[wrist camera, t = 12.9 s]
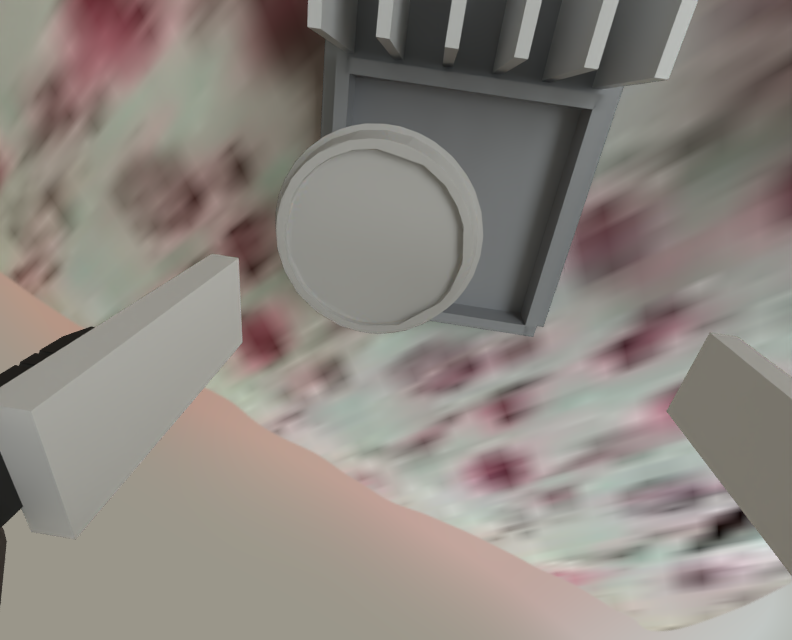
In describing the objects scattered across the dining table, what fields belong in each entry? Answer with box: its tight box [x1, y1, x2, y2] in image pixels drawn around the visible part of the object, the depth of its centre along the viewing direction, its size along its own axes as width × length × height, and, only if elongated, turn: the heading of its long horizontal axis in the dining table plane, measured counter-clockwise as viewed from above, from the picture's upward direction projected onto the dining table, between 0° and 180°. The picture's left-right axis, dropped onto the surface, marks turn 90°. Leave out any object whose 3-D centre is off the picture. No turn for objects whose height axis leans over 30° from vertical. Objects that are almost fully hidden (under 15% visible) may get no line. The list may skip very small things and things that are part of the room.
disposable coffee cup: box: [276, 123, 483, 334], centre depth 23 cm, size 10×10×12 cm
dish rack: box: [307, 0, 698, 337], centre depth 24 cm, size 22×18×10 cm
